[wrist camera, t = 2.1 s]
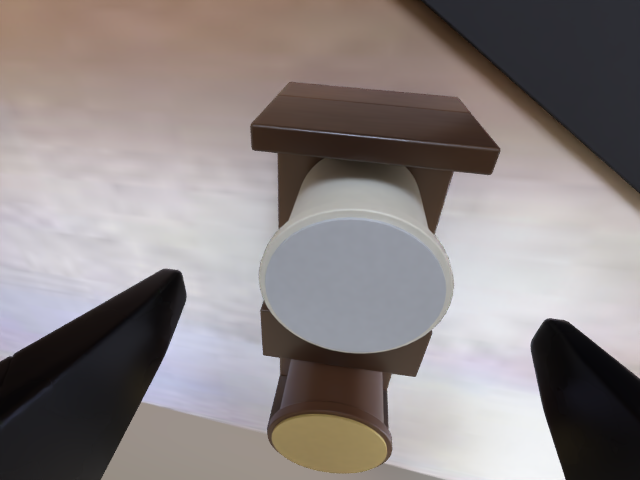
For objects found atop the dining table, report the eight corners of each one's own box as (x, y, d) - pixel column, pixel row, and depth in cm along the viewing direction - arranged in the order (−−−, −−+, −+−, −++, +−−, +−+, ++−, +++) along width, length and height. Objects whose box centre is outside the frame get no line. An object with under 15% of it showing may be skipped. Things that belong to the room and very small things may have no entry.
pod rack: (458, 97, 12) (503, 148, 8) (383, 366, 21) (387, 454, 17) (289, 81, 12) (249, 123, 8) (286, 352, 22) (267, 435, 18)
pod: (409, 347, 17) (420, 450, 13) (348, 389, 20) (342, 485, 16) (324, 299, 16) (309, 396, 12) (271, 351, 18) (246, 444, 15)
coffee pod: (460, 193, 12) (501, 286, 8) (369, 278, 15) (369, 378, 11) (342, 106, 11) (326, 168, 7) (267, 216, 14) (226, 303, 10)
